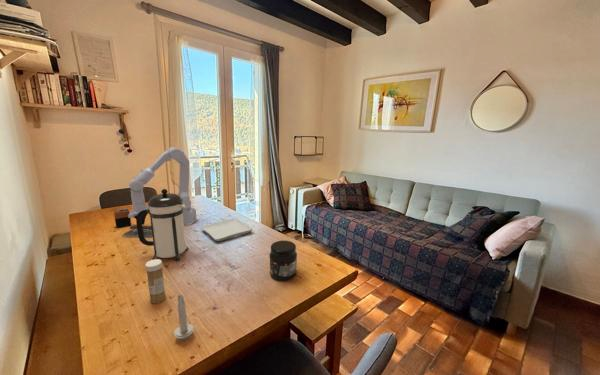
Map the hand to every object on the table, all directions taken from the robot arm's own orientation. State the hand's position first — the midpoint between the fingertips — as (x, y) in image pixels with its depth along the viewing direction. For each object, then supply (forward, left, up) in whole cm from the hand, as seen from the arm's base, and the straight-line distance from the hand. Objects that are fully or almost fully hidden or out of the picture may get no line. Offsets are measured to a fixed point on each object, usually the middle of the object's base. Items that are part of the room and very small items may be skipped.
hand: (141, 226), depth 135 cm
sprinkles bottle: (-42, +53, -3) cm, 68 cm away
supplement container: (-81, +35, -3) cm, 88 cm away
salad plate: (-46, -2, -3) cm, 46 cm away
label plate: (-3, +2, -2) cm, 5 cm away
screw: (-58, +67, -3) cm, 89 cm away
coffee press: (-29, +25, -3) cm, 39 cm away
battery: (+14, -5, -3) cm, 15 cm away
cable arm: (-3, +2, -1) cm, 4 cm away
